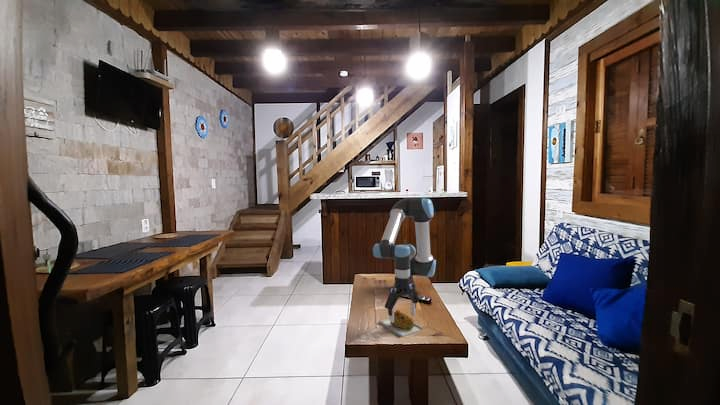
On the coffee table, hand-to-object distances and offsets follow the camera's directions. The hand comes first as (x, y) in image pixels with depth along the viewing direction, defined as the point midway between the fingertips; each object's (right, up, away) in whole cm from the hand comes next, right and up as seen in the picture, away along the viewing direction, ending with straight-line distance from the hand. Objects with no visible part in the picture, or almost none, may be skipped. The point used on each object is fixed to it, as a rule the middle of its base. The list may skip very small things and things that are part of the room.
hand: (402, 318), depth 153 cm
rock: (0, -4, 0) cm, 4 cm away
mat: (-1, -5, +2) cm, 5 cm away
